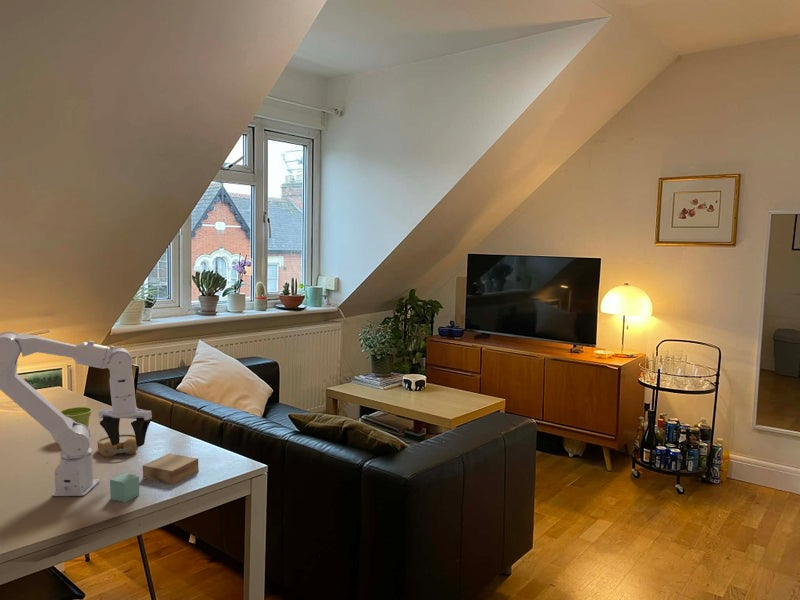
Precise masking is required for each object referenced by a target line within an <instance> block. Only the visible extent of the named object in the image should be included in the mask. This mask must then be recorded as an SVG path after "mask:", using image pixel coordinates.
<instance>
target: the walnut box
mask: <svg viewBox="0 0 800 600" xmlns="http://www.w3.org/2000/svg"><path fill="white" fill-rule="evenodd" d="M198 472H199V458H197V457H192V456H188V455H187V456H185V455H180V454H176V453H171V452H170V453H167V454H166V455H163V456H161V457H158V458H156V459H153V460H152V461H150V462H147V463H145V464H143V465H142V479H143V478H145V479H144V480H147V479H150V480H149V481H152V480H154V481H153V482H157V481H159V482H158V483H162V482H163V484H167V485H175V484H177V483H179V482H182V481H183V480H185V479H186V477H187V478H188V476H189V477H191V476H192V474H193V475H195V474H196V473H198ZM194 473H195V474H194ZM190 475H191V476H190ZM184 478H185V479H184ZM182 479H183V480H182Z"/></svg>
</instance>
